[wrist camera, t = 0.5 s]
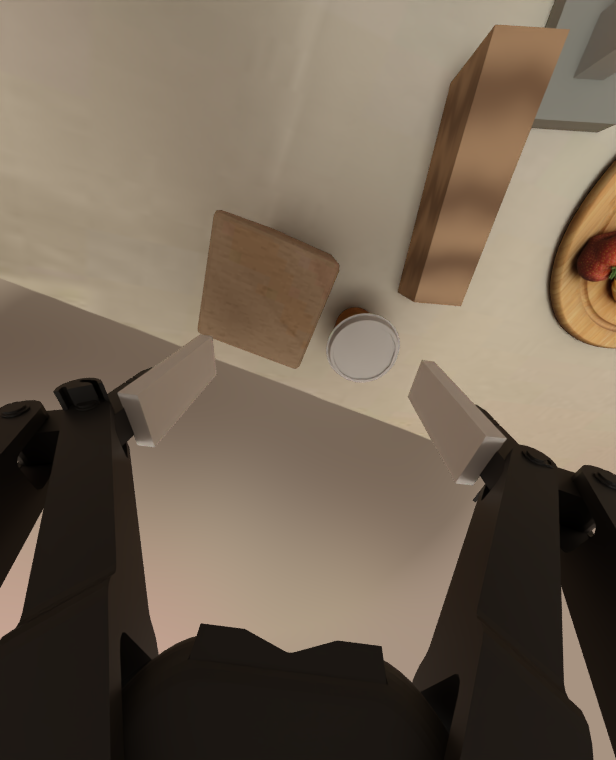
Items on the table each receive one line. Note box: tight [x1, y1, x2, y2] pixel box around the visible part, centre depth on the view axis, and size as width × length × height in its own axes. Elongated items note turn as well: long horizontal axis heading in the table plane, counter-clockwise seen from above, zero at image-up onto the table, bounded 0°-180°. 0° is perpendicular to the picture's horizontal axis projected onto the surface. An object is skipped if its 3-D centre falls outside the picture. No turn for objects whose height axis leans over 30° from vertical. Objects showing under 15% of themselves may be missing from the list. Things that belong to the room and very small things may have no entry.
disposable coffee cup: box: [326, 307, 400, 382], centre depth 35 cm, size 10×10×12 cm
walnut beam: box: [398, 25, 570, 306], centre depth 28 cm, size 22×6×8 cm, turn 176°
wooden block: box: [198, 210, 339, 369], centre depth 28 cm, size 10×10×20 cm
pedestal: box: [531, 0, 616, 132], centre depth 21 cm, size 10×10×6 cm
